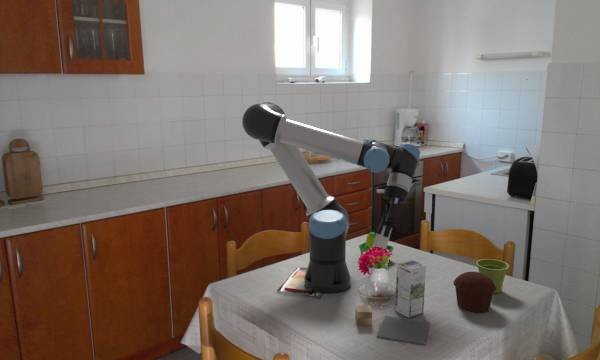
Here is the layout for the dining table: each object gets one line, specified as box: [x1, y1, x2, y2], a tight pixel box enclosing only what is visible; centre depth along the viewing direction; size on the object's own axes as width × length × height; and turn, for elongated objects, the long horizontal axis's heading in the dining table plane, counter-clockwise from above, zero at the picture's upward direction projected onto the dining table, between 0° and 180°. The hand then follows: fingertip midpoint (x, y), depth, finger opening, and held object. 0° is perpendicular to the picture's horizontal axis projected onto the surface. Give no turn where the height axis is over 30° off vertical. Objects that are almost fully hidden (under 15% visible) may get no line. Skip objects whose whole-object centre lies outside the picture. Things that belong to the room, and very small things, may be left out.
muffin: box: [453, 271, 496, 314], centre depth 140 cm, size 12×11×10 cm
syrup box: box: [394, 259, 427, 319], centre depth 136 cm, size 6×6×14 cm
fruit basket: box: [358, 231, 395, 261], centre depth 179 cm, size 11×9×11 cm
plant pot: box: [476, 258, 510, 294], centre depth 151 cm, size 9×9×9 cm
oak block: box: [354, 305, 373, 327], centre depth 132 cm, size 4×4×4 cm
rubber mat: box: [376, 315, 430, 346], centre depth 127 cm, size 12×12×1 cm
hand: (378, 250), depth 152 cm, fingers open, 13 cm apart
